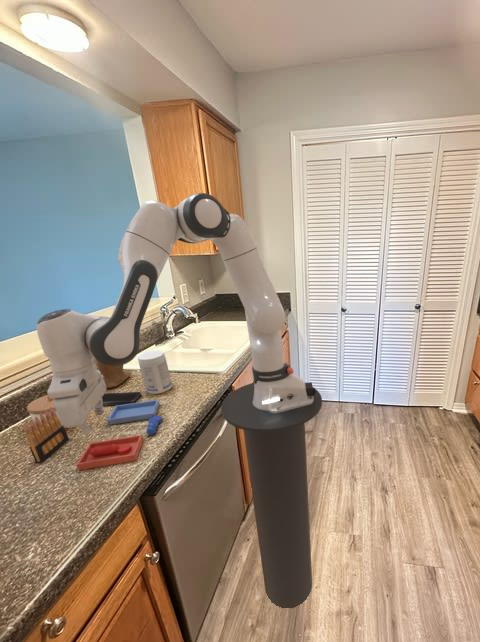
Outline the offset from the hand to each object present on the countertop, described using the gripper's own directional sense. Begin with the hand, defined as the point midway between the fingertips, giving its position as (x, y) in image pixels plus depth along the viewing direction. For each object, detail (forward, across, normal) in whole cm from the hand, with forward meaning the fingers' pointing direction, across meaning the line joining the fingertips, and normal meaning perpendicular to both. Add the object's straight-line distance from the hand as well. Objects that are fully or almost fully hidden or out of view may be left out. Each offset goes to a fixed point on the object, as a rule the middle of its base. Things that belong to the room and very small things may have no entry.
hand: (94, 422), depth 86 cm
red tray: (+11, 0, +2) cm, 11 cm away
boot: (+11, -53, -11) cm, 55 cm away
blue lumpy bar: (+11, -11, +11) cm, 19 cm away
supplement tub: (+11, -40, +8) cm, 42 cm away
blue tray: (+11, -22, +3) cm, 25 cm away
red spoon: (+10, 0, +2) cm, 11 cm away
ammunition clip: (+11, -7, -16) cm, 21 cm away
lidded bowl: (+11, -22, -20) cm, 32 cm away
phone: (+11, -35, -6) cm, 37 cm away
